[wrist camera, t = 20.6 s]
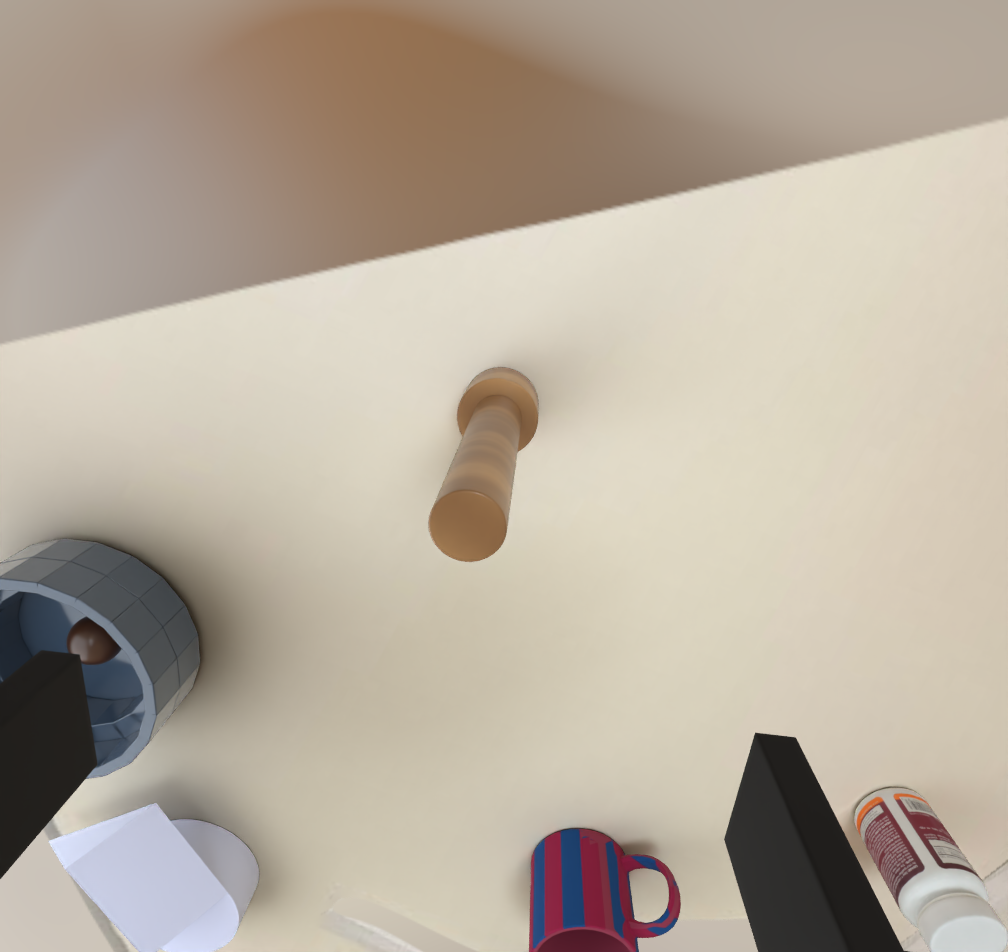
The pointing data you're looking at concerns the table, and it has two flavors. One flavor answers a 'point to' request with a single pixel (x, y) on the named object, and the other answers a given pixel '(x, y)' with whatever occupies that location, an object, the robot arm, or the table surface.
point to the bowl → (127, 619)
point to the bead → (91, 642)
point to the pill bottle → (928, 873)
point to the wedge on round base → (163, 878)
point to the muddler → (484, 465)
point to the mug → (590, 895)
